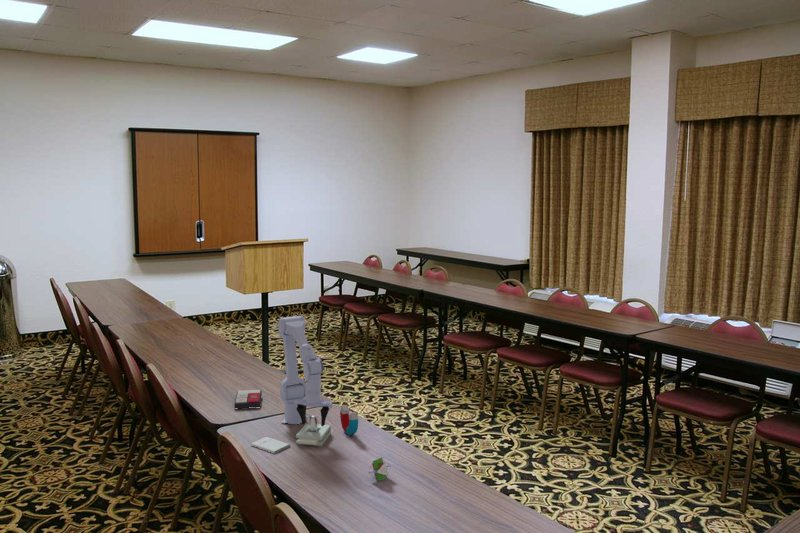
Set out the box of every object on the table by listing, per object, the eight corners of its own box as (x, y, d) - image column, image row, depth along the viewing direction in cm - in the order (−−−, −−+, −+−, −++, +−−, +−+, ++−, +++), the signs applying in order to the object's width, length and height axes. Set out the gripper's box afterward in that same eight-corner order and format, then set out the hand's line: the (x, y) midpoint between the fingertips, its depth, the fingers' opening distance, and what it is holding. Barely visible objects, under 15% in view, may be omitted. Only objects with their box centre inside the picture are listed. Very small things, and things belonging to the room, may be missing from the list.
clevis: (306, 431, 248) (306, 423, 248) (330, 433, 247) (330, 425, 246) (294, 446, 235) (294, 436, 234) (319, 448, 233) (319, 439, 233)
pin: (311, 437, 243) (310, 414, 242) (318, 437, 243) (318, 415, 242) (308, 440, 240) (308, 417, 239) (316, 440, 240) (315, 418, 239)
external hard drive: (274, 455, 228) (250, 447, 235) (290, 448, 235) (266, 439, 242) (274, 451, 228) (250, 442, 235) (290, 443, 234) (266, 435, 241)
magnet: (358, 437, 243) (358, 413, 242) (352, 439, 242) (352, 414, 240) (346, 427, 253) (346, 403, 252) (340, 428, 252) (339, 405, 251)
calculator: (234, 402, 272) (237, 389, 286) (234, 411, 273) (237, 398, 287) (260, 400, 274) (261, 388, 288) (260, 410, 275) (261, 397, 289)
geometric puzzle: (361, 470, 211) (371, 456, 207) (376, 463, 216) (386, 450, 211) (373, 488, 207) (383, 474, 203) (388, 481, 212) (398, 468, 208)
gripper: (291, 392, 237) (292, 426, 238) (328, 395, 234) (328, 429, 236) (298, 386, 243) (298, 420, 245) (333, 389, 241) (333, 422, 243)
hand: (313, 424), depth 241 cm, fingers open, 7 cm apart
